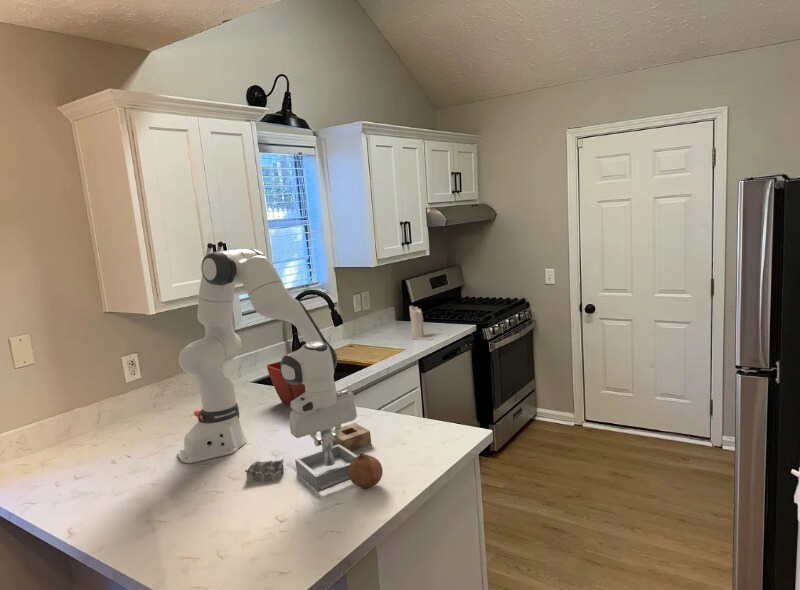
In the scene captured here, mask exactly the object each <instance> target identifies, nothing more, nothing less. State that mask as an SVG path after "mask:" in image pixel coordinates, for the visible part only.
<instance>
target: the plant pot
mask: <svg viewBox="0 0 800 590" xmlns="http://www.w3.org/2000/svg"><path fill="white" fill-rule="evenodd" d="M280 363H281V361H277V362H273V363H268V364H267V365H266V369H267V371H268V374H269V378H270V380H271V383H272V385H273V387H274V389H275V392H276V394H277V396H278V398H279V399H280V401H281V403H283V404H284V405H287V406H289V407H291V405H290V403H291V401H293V400H294V399H296V398H297V397H299V396H300V395H302V394H303V393H305V385H304V384H298V385H291V384H289V383H287V382H286V381H285V380H284V379H283V378H282V376H281V372H280Z"/></svg>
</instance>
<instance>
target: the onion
mask: <svg viewBox="0 0 800 590" xmlns="http://www.w3.org/2000/svg"><path fill="white" fill-rule="evenodd" d="M349 463H350V462H349ZM383 472H384V471H383V466H382V463H381V462H380V461H379V459H377V458H376V457H374V456H372V455H369V454H365V453H364V452H361V453H359V454H358V455H357V457H356V458H354V459H353V460H352V461H351V463H350V465H349V469H348V474H349V475H348V478H350V480H349V481H351V483H352V484H354V485H355V486H356V487H358V488H360V489H362V490H369V489H372V488H373V487H375V486H376V485H378V483H379V482H380V481H381V479H382V477H383Z"/></svg>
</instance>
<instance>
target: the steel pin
mask: <svg viewBox="0 0 800 590" xmlns="http://www.w3.org/2000/svg"><path fill="white" fill-rule="evenodd" d="M334 429H335V427H333V425H331V426H328V427H325V428H322V431H319V432H320V439H321V444H322V445H321V450H322V451H323V459H324V461H323V465H324V466H325V467H331V466H334V465H335V464H336V461H335V460H336V459H335V457H334V450H333V441H332V432H331V430H334Z"/></svg>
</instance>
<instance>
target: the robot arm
mask: <svg viewBox="0 0 800 590" xmlns="http://www.w3.org/2000/svg"><path fill="white" fill-rule="evenodd" d="M201 262H202V263H201V265H200V267H201V268H200V269H201V270H200V271H201V274H202V276H201V280H200V282H199V283H200V285H199V290H198V298H197V299H198V303H197V315H196V318H197V320H198V322H199V323H200V324H201V325H203V326H204V332H205V333H204V334H205V335H204V337H202V338H199V339H197V340H195V341H192V342H190V343H189V344H187V345H186V346H184V348H183V349H181V350H180V352H179V355H178V363H179V366H180V368H181V370H183V372H184V373H185V374H187V375H190V376H191V377H192V378H193V380H194V381H195V382H196V384H197V387H198V390H199V395H200V399H201V405H202V408H201V409H200V410H199V409H195V410H194V411H193V415H194V416H195V417H197V422H195V424H194V425H193V426H192V427H191V428H190V429H189V430H188V431H187V432H186V433H185V435H184V438H183V447H180V448H179V449H178V451H177V456H178V457H177V458H178V459H179V461H181V462H182V463H186V464H193V463H197V462H202V461H206V460H210V459H214V458H219V457H223V456H227V455H231V454H235V453H236V452H237V451H238V449H239V448H241V447H242V446H244V445H245V444H246V442H247V438H246V436H245V433H244V432H243V428H242V425H241V421H240V409H239V404H238V402H237V400H236V393H235V385H234V381H233V380H232V379H231V378H229V377H226V375H225V374H224V372H223V369H222V366H223V365H225V364H227V363H229V362H231V361H233V360H234V359H235V358H236V357H237V356H238V355H239V354H240V353H241V352H242V348H243V344H242V343H243V342H242V339H241V337H240V336H239V335H238V334H237V333H236V332H235V329H234V324H233V309H234V297H235V286H236V285H241V284H242V285H243V286H244V288H245V291H246V293H247V296H248V298H249V301H250V303H251V305H252V307H253V309H254V310H255V312H256V313H257V314H259V315H260V316H262V317H265V318H267V319H271V320H273V319H274V320H280V321H284V322H287V323H290V324H291V325H293V326H294V327H296V329H297V331H298V332H299V334H300V335H301V337H302V338H303V340H304V342H305V343H304V344H303V345H302V346H301V347H300V348H299V349H297V350H294V351H292V352H289V353H287V354H286V355H283V357H282V358H281V363H280V372H281V376H282V378H283V379H284V380H285V381H286V382H287V383H289V384H291V385H298V384H304V385H305V393H303V394H302V395H300V396H299V397H297V398H296V399H294V400H293V401H291V403H290V405H291V406H290V408H291V409H292V410H291V412H290V413H289V431H290V434H291V435H292V436H293V437H295V438H297V439H300V438H302V437H306V436H310V438H312V440H313V442H314V444H313V445H314V446H315V447H320V446H322V442H321V438H319V437H317V436H318V435H317V433H318V432H320V431H322V428H325V427H328V426H331V425H333V427H334V429H335V430H334V429H333V430H334V433H332V439H333V440H334V441H335V440H338V439H339V432H340V430H341V427H342V425H343V424H347V423H348V422H352V421H355V420H356V418H357V416H358V412H357V408H356V405H355V396H354V392H353V391H351V390H349V389H346V390H344V391H339V392H337V387H336V385H337V384H336V382H335V380H334V374H335V370H336V367H337V365H338V364H337V363H338V355H337V352H336V351H335V349H334V347H332V345H331V344H330V343H329V342H328V341H327V340H326V338H325V336H324V335H323V333H322V332H321V330H320V329H319V327H318V326H317V324H316V322H315V321H314V319H313V317H312V315H310V313H309V311H308V310H307V308H306V307H305V305H304V304H303V302H301V301H300V300H298V299H296V298H295V297H294V296H293V295H291V294H290V292H289V291H288V290H287V288H286V287H285V285H284V282H283V281H282V279H281V278H282V277H281V276H280V275H279V273H278V271H277V270H276V268H275V266H274V264H273V263H272V262H271V261H270V259H269V258H268V257H267V256H266V255H265V253H264V252H262V251H260V250H257V249H251V248H249V249H244V248H242V249H241V248H237V249H236V248H233V249H231V250H230V249H229V250H223V251H219V250H218V251H217V250H216V251H213V252H210V253H208V254H206V255H205V256H204V258H203V259H202V261H201Z"/></svg>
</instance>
